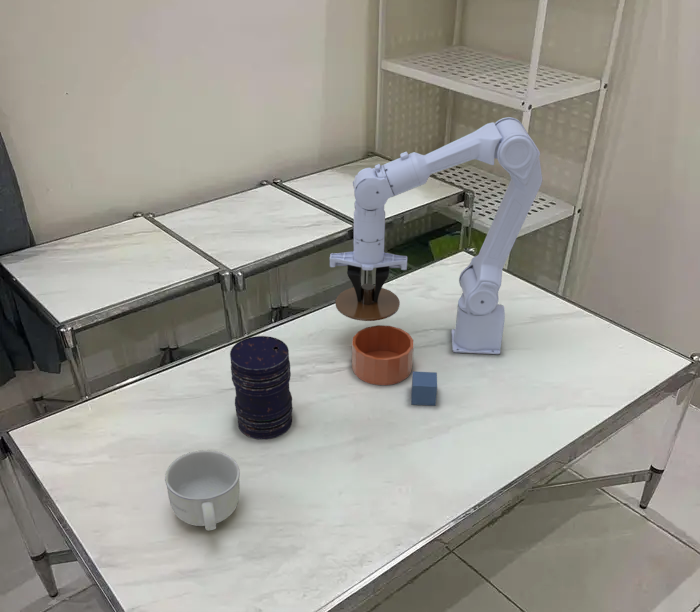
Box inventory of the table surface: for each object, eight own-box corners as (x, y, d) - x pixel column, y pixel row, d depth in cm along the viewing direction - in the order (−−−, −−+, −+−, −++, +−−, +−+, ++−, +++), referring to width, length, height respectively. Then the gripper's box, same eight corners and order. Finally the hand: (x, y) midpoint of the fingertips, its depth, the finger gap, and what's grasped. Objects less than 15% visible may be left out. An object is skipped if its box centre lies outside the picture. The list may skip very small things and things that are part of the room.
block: (434, 391, 135) (436, 372, 132) (435, 405, 132) (437, 386, 129) (411, 390, 135) (412, 371, 133) (411, 404, 132) (412, 385, 129)
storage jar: (247, 446, 123) (239, 376, 113) (229, 412, 130) (221, 344, 121) (301, 430, 126) (298, 360, 117) (281, 398, 133) (277, 330, 124)
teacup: (176, 486, 115) (169, 449, 110) (245, 482, 116) (240, 445, 111) (166, 555, 104) (157, 518, 99) (241, 551, 105) (236, 513, 100)
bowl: (411, 351, 145) (413, 326, 142) (411, 386, 136) (413, 360, 132) (354, 349, 146) (354, 324, 142) (350, 383, 137) (350, 357, 133)
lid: (399, 291, 147) (401, 272, 144) (399, 325, 137) (400, 304, 134) (338, 289, 147) (338, 269, 145) (332, 322, 137) (332, 302, 135)
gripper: (327, 243, 130) (328, 308, 138) (408, 246, 129) (404, 311, 138) (331, 227, 136) (331, 290, 144) (408, 229, 135) (404, 293, 143)
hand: (367, 299), depth 141 cm, fingers closed on lid, 2 cm apart
